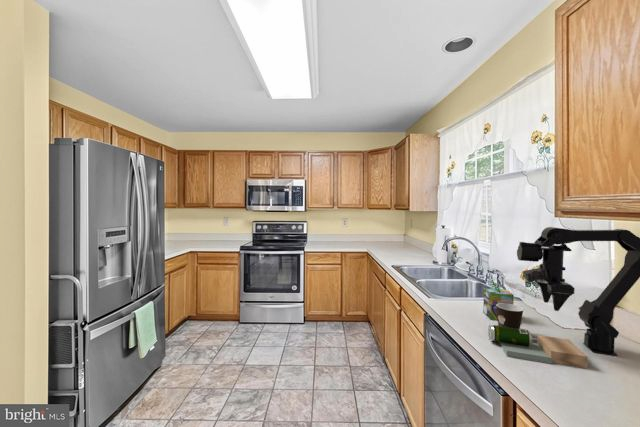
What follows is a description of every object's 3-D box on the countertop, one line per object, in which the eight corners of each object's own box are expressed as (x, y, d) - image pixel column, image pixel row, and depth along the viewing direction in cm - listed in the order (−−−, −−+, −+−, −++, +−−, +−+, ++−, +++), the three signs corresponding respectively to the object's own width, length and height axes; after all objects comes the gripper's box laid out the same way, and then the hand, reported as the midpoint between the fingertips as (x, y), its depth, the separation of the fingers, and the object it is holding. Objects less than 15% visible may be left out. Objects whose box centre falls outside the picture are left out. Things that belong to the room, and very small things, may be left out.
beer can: (527, 326, 101) (488, 321, 105) (532, 335, 96) (491, 329, 100) (526, 340, 102) (487, 335, 106) (531, 350, 97) (490, 343, 101)
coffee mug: (526, 339, 106) (527, 312, 105) (500, 336, 107) (501, 310, 107) (512, 326, 117) (513, 301, 117) (489, 324, 119) (489, 300, 118)
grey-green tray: (535, 343, 102) (536, 338, 102) (551, 363, 89) (552, 357, 89) (496, 337, 106) (496, 332, 106) (506, 356, 93) (506, 350, 93)
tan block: (568, 349, 98) (569, 339, 98) (587, 368, 87) (587, 356, 87) (536, 344, 101) (537, 335, 101) (550, 362, 90) (551, 350, 90)
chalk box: (513, 322, 122) (515, 287, 121) (489, 319, 124) (490, 285, 123) (504, 314, 131) (505, 281, 130) (482, 312, 133) (483, 280, 132)
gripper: (518, 256, 114) (516, 296, 114) (534, 265, 97) (532, 312, 97) (552, 259, 110) (550, 299, 111) (576, 268, 93) (574, 317, 93)
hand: (550, 306), depth 103 cm, fingers open, 9 cm apart
